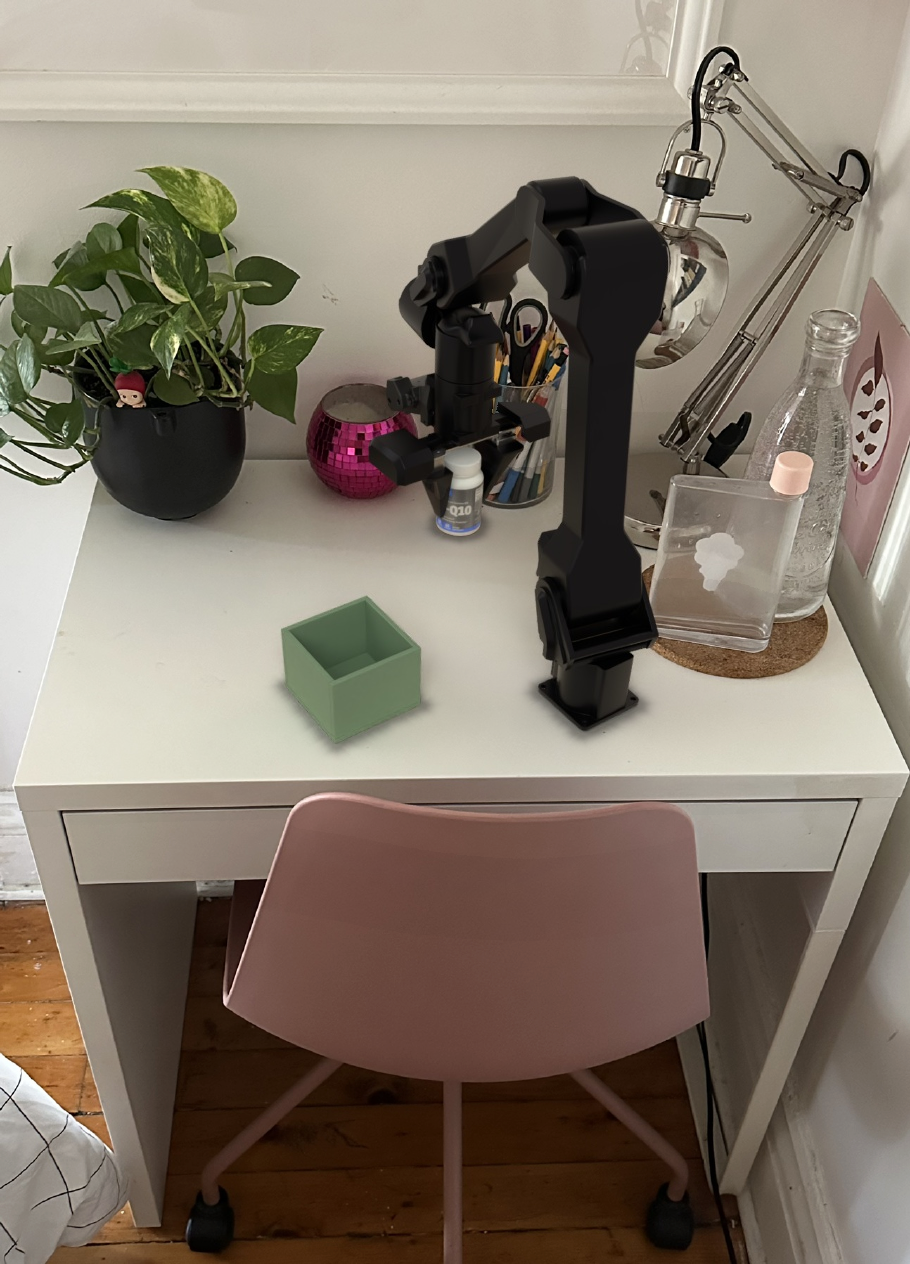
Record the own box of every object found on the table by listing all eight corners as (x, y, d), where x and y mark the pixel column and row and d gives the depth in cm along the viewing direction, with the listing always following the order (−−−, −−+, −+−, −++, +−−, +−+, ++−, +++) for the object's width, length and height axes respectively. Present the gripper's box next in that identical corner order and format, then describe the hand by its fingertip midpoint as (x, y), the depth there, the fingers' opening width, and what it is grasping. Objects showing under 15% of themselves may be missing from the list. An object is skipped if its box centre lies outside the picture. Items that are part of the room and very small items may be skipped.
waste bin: (420, 705, 99) (421, 647, 94) (335, 743, 95) (332, 685, 91) (368, 651, 104) (366, 594, 100) (285, 686, 100) (280, 628, 96)
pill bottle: (430, 532, 119) (431, 462, 113) (443, 508, 122) (445, 439, 117) (473, 541, 118) (477, 471, 112) (486, 517, 121) (490, 447, 116)
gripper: (492, 318, 118) (485, 450, 128) (336, 361, 110) (342, 499, 119) (561, 360, 111) (547, 495, 121) (400, 409, 103) (400, 551, 113)
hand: (459, 508), depth 119 cm, fingers closed on pill bottle, 5 cm apart
